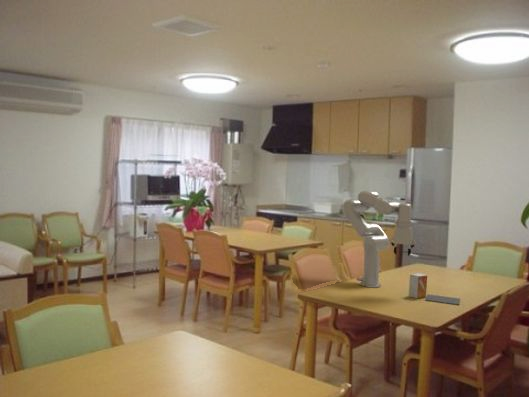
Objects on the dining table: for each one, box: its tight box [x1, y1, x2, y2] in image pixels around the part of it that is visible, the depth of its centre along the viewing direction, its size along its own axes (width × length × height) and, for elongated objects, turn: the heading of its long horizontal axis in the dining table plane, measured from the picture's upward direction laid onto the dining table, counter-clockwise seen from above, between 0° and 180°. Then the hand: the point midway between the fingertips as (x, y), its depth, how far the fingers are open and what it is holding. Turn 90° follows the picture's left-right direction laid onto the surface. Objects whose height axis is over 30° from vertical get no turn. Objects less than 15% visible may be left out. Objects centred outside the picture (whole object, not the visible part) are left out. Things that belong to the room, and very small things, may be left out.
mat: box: [424, 293, 461, 306], centre depth 281 cm, size 18×14×1 cm
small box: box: [408, 272, 428, 299], centre depth 286 cm, size 8×6×13 cm
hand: (402, 254), depth 289 cm, fingers open, 6 cm apart
